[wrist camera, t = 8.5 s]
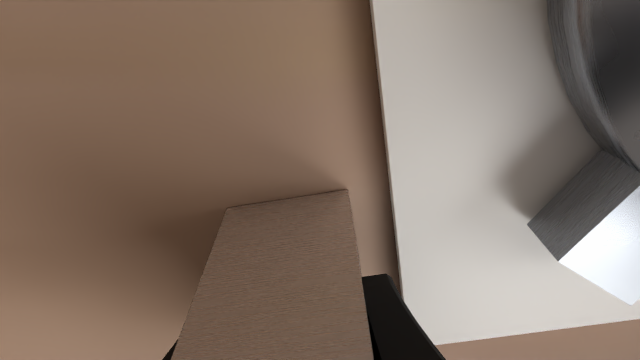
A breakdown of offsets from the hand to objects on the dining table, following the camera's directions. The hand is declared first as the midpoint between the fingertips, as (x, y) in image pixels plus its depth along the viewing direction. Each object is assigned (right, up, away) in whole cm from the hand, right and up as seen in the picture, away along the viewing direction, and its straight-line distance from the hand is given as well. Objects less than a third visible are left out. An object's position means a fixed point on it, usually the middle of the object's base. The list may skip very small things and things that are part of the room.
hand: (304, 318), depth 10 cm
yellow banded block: (0, +1, +1) cm, 1 cm away
